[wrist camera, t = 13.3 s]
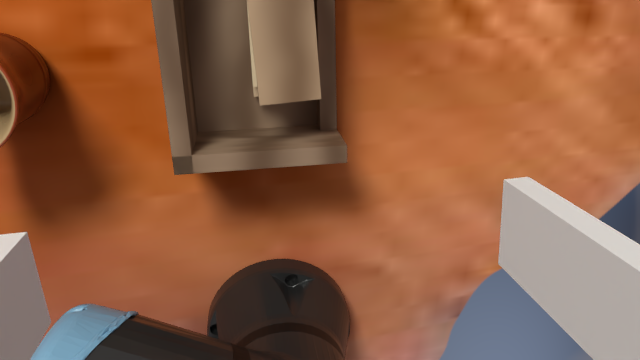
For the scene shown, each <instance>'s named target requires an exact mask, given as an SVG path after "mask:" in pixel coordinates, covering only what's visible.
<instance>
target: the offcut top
mask: <svg viewBox="0 0 640 360" xmlns="http://www.w3.org/2000/svg"><path fill="white" fill-rule="evenodd" d="M247 5H248V13H249V22H250V30H251V38H252V46H253V55H254V63H255V71H256V79H257V87H258V96H259V103H260V106H262V105H271V104H280V103H289V102H299V101H308V100H317V99H321V88H320V75H319V62H318V50H317V37H316V24H315V11H314V0H247Z"/></svg>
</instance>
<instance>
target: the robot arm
mask: <svg viewBox="0 0 640 360" xmlns="http://www.w3.org/2000/svg"><path fill="white" fill-rule="evenodd" d="M498 264H499V265H500V266H501V267H502V268H503V269H504V270H505V271H506V272H507V273H508V274H509V275H510V276H511V277H512V278H513V279H514V280H515V281H516V282H517V283H518V284H519V285H520V286H521V287H522V288H523V289H524V290H525V291H526V292H527V293H528V294H529V295H530V296H531V297H532V298H533V299H534V300H535V301H536V302H537V303H538V304H539V305H540V306H541V307H542V308H543V309H544V310H545V311H546V312H547V313H548V314H549V315H550V316H551V317H552V318H553V319H554V320H555V321H556V322H557V323H558V324H559V325H560V326H561V327H562V328H563V329H564V330H565V331H566V332H567V333H568V334H569V335H570V336H571V337H572V338H573V339H574V340H575V341H576V342H577V343H578V344H579V345H580V346H581V347H582V349H584V350H585V352H587V354H588V355H590V357H592V359H594V360H640V244H638V243H636V242H634V241H633V240H631V239H630V238H628V237H626V236H625V235H623V234H621V233H620V232H618V231H616V230H615V229H613V228H611V227H610V226H608V225H607V224H605V223H603V222H601V221H600V220H598V219H597V218H595V217H593V216H592V215H590V214H589V213H587V212H585V211H584V210H582V209H580V208H579V207H577V206H575V205H574V204H572V203H571V202H569V201H567V200H566V199H564V198H562V197H561V196H559V195H557V194H556V193H554V192H552V191H551V190H549V189H548V188H546V187H544V186H543V185H541V184H539V183H538V182H536V181H534V180H533V179H531V178H530V177H523V178H514V179H505V180H504V184H503V200H502V215H501V231H500V246H499V262H498ZM50 323H51V320H50V316H49V312H48V309H47V305H46V301H45V297H44V294H43V290H42V286H41V282H40V279H39V275H38V271H37V267H36V264H35V260H34V256H33V253H32V249H31V245H30V241H29V238H28V234H27V232H22V233H13V234H4V235H0V360H344V358H345V353H346V347H347V341H348V337H349V332H350V318H349V312H348V308H347V305H346V302H345V299H344V296H343V294H342V291H341V290H340V288H339V286H338V285H337V283H336V282H335V281H334V280H333V279H332V278H331V277H330V276H329V275H328V274H327V273H325V272H324V271H323V270H321V269H319V268H317V267H315V266H313V265H311V264H308V263H305V262H302V261H298V260H291V259H274V260H267V261H262V262H259V263H255V264H253V265H250V266H248V267H246V268H244V269H242V270H240V271H239V272H237V273H236V274H234V275H233V276H232V277H230V278H229V279H228V280H227V281H226V282H225V283H224V284H223V285H222V286H221V288H220V289H219V290H218V292H217V293H216V295H215V297H214V299H213V301H212V304H211V306H210V310H209V316H208V326H207V336H206V335H203V334H200V333H196V332H193V331H190V330H187V329H183V328H180V327H177V326H174V325H171V324H167V323H164V322H161V321H158V320H154V319H151V318H148V317H145V316H141V315H139V314H138V312H136V311H128V312H124V311H120V310H116V309H112V308H108V307H104V306H100V305H96V304H82V305H78V306H76V307H74V308H72V309H70V310H69V311H67V312H66V313H65V314H64V315H63V316H62V317H61V318H60V319H59V320H58V321H57V322H56V323H55V324H54V325H53V327H52V328H51V329H50V330H49V332H48V333H47V334H46V336H45V337H44V339H43V340H42V341H41V339H42V338H43V336H44V334H45V332H46V330H47V329H48V327H49V325H50ZM40 341H41V343H40ZM39 343H40V344H39ZM38 345H39V346H38ZM37 346H38V347H37ZM36 348H37V349H36Z"/></svg>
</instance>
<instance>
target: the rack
mask: <svg viewBox="0 0 640 360" xmlns="http://www.w3.org/2000/svg"><path fill="white" fill-rule="evenodd" d="M151 2H152V9H153V17H154V24H155V32H156V39H157V47H158V54H159V62H160V69H161V77H162V84H163V92H164V100H165V107H166V115H167V122H168V130H169V137H170V145H171V152H172V160H173V167H174V175H179V174H193V173H208V172H222V171H236V170H250V169H264V168H279V167H293V166H307V165H321V164H335V163H347V145H346V143H345V141H344V140H343V138H342V137H341V135H340V134H339V132H338V130H337V110H336V42H335V0H314V11H315V24H316V37H317V50H318V62H319V75H320V88H321V99H317V100H308V101H299V102H289V103H280V104H271V105H262V106H260V103H259V97H254V94H253V83H252V69H251V55H250V41H249V27H248V13H247V0H151Z"/></svg>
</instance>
